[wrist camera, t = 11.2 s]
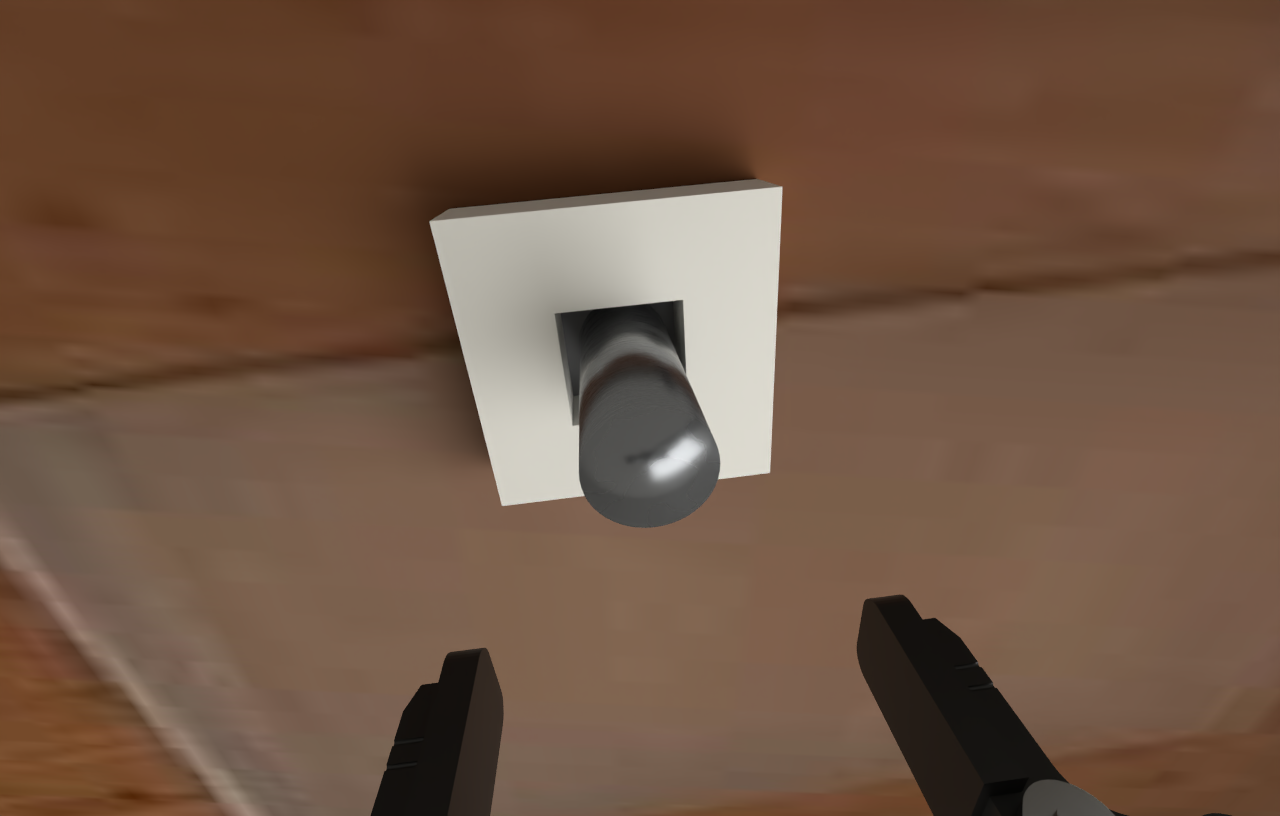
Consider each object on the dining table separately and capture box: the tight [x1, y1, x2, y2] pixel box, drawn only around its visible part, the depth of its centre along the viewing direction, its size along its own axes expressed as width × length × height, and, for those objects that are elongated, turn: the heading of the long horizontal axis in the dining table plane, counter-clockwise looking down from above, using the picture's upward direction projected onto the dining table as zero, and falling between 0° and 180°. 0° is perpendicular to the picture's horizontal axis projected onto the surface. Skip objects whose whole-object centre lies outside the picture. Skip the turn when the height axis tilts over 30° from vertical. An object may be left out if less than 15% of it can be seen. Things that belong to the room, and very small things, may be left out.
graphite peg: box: [579, 304, 720, 528], centre depth 22 cm, size 4×4×12 cm
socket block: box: [429, 179, 782, 506], centre depth 26 cm, size 14×14×4 cm
